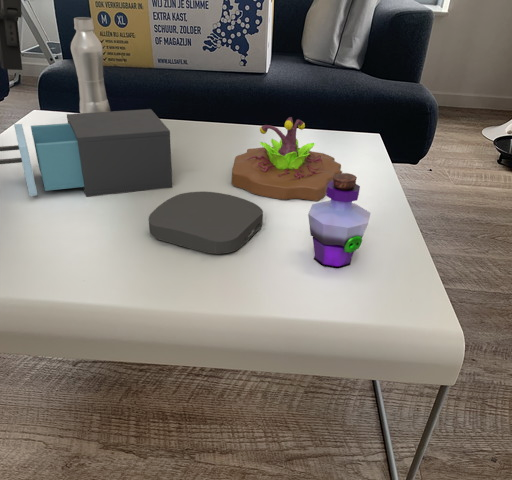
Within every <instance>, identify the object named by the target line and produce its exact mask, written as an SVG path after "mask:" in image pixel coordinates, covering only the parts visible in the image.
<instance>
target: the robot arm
mask: <svg viewBox="0 0 512 480" xmlns="http://www.w3.org/2000/svg"><path fill="white" fill-rule="evenodd" d="M22 15H23V13H22V0H0V68H1V69H3V70H9V71H11V70H12V71H23V63H22V52H21V43H20V35H19V33H20V32H19V24H18V22H19V19H21V18H22Z"/></svg>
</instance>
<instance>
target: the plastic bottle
mask: <svg viewBox="0 0 512 480" xmlns="http://www.w3.org/2000/svg"><path fill="white" fill-rule="evenodd" d="M73 24H74V27H73V28H74V30H75V34H74V36H73V38H72V40H71V42H70V52H71V55H72V61H73V64H74V66H75V72H76V76H77V81H78V92H79V105H78V106H79V114H80V113H96V112H111V107H110V103H109V100H108V96H107V91H106V85H105V78H104V47H103V45H102V42H101V41H100V39H99V38H98V36H97V35H96V34H95V32H94V30H95V26H94V21H93V18H92V17H89V16H87V17H86V16H77V17H74V18H73Z"/></svg>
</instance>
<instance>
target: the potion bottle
mask: <svg viewBox="0 0 512 480" xmlns="http://www.w3.org/2000/svg"><path fill="white" fill-rule="evenodd" d="M360 190H361V185H359V184H357V176H356V175H354V174H352V173H348V172H342V173H339V174H336V175H334V176H333V181H331V182H329V184H328V186H327V193H326V194H325V197H327V198H328V199H329V200H324V201H321V202H315V203H312V204H311V206H310V209H309V211H308V214H307V216H308V224H309V235H310V236H311V237H312V244H313V253H314V256H313V260H314V261H315V262H316V263H318V264H319V265H320V266H321V267H325V268H330V269H338V270H339V269H342V268H346V267H349V266H351V264H352V260H353V257H354V253H355V252H356V251H357V250H359V249H360V247H361V244H363V243H362V242H363V237H364V234H365V232H366V229H367V227H368V225H369V222H370V217H371V212H370V211H368V210H367V209H365V208H364V207H361V206H360V205H358V204H357V203H355V202H356V201H358V198H359V195H360Z"/></svg>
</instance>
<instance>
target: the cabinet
mask: <svg viewBox="0 0 512 480" xmlns="http://www.w3.org/2000/svg"><path fill="white" fill-rule="evenodd" d="M66 120H67V123H69V124H70V126H71V128H72V130H73V132H74V135H75V137H76V139H77V141H78V148H79V155H80V161H81V168H82V175H83V181H84V187H82V190H83V192H84V194H85V197H96V196H105V195H106V196H107V195H115V194H123V193H132V192H133V193H134V192H140V191H151V190H159V189H170V188H173V187H174V185H173V169H172V168H173V167H172V166H173V165H172V147H171V145H172V144H171V131H170V129H169V128H168V127H167V126H166V125H165V123H164V122H163V121H162V120H161V119H160V118H159V117H158V116H157V114H156V113H155V112H154V111H153V110H152V109H151V108H147V109H131V110H130V109H129V110H115V111H114V110H113V111H110V112H96V113H80V112H79V113H67V114H66Z"/></svg>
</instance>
